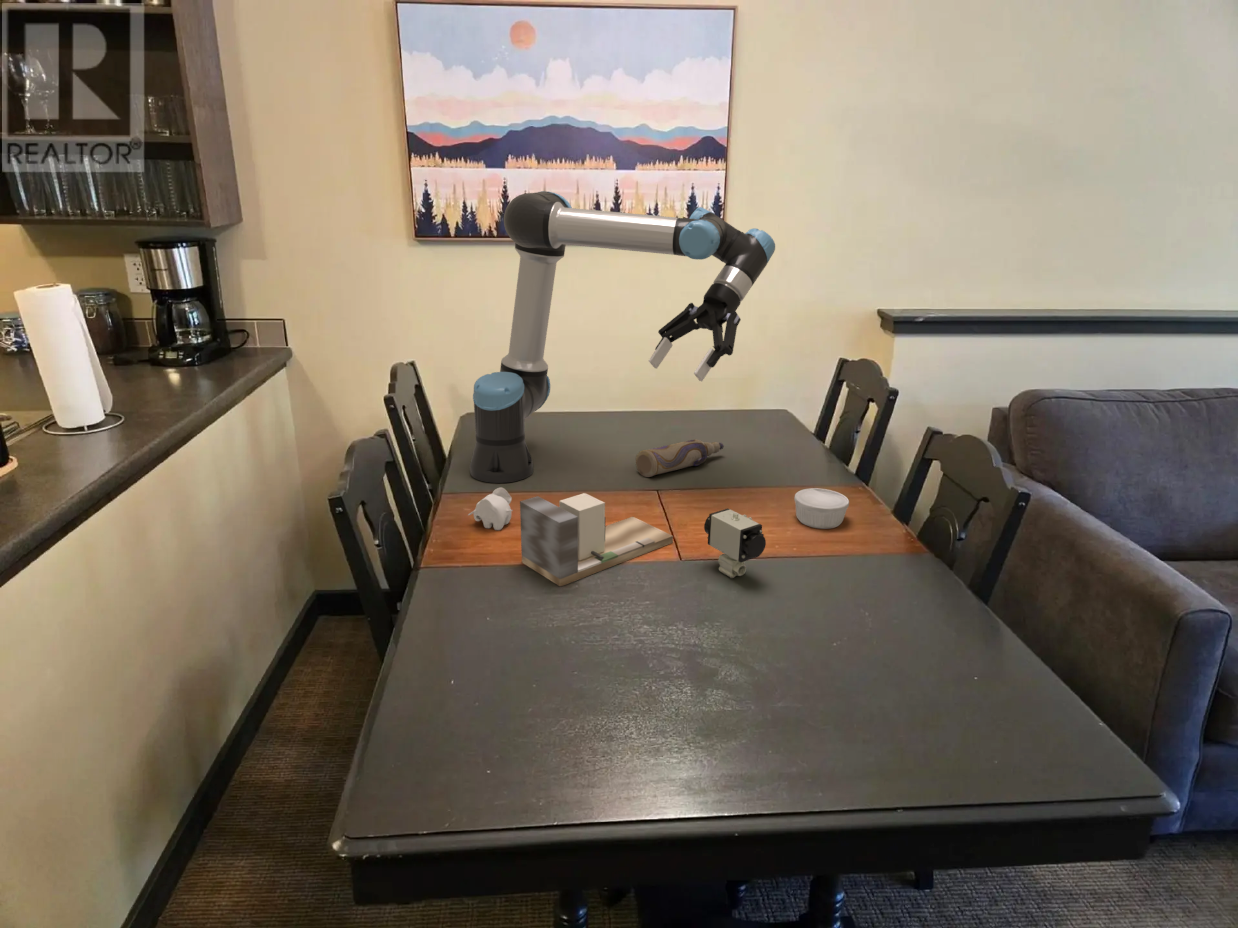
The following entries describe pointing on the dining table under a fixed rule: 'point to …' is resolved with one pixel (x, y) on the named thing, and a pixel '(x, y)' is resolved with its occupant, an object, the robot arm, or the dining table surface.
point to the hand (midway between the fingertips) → (674, 371)
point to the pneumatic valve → (734, 540)
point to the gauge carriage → (588, 523)
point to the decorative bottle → (674, 456)
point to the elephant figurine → (494, 509)
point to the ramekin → (820, 507)
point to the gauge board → (613, 543)
